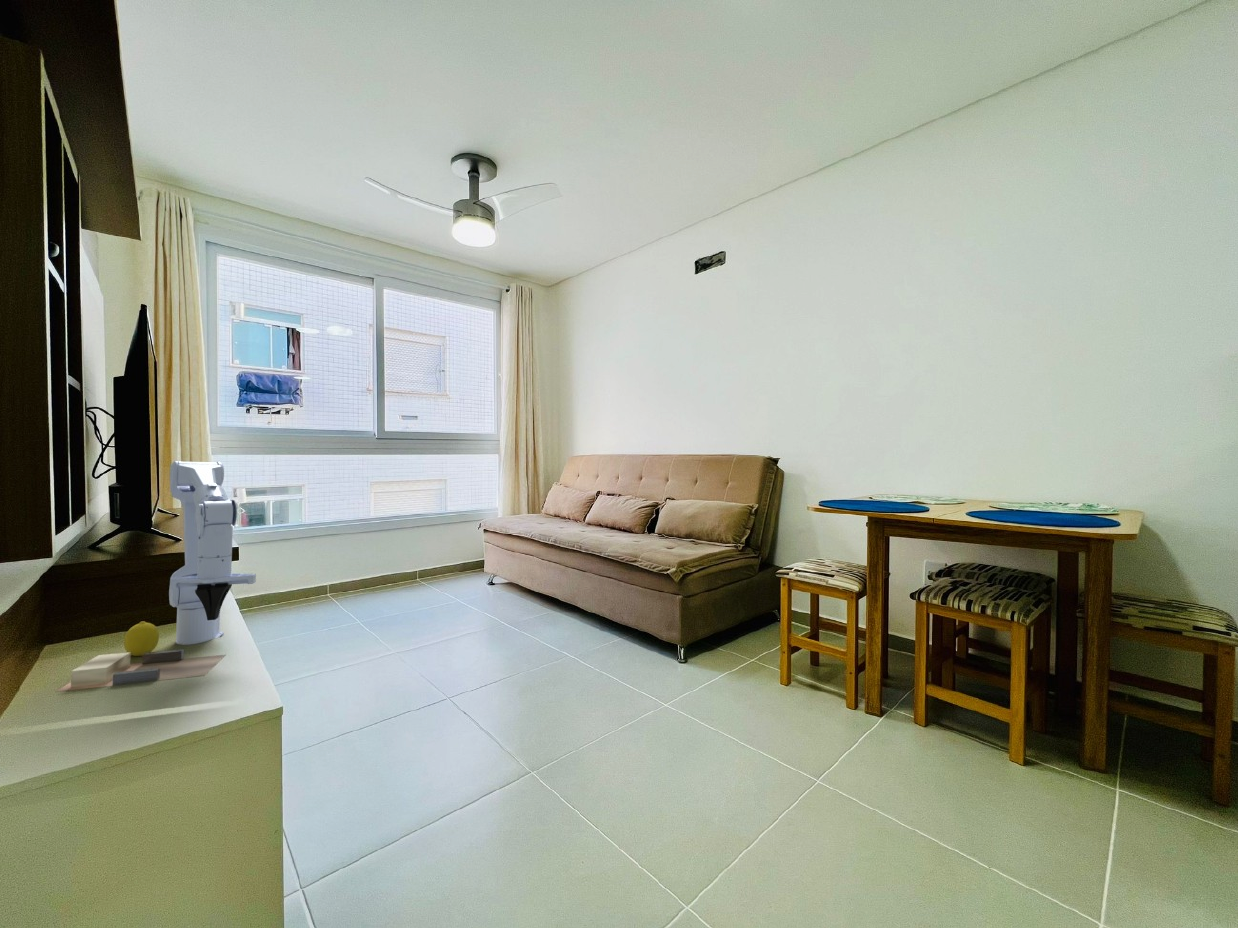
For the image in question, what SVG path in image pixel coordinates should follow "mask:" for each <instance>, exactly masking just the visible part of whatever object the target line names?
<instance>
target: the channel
mask: <svg viewBox="0 0 1238 928" xmlns="http://www.w3.org/2000/svg"><path fill="white" fill-rule="evenodd" d="M141 657H142V658H141V663H142V664H152V663H162V662H173V661H181V660H183V659H185V650H184V649H174V650H161V651H151V652H149V653H144V654H143V655H142V656H141ZM159 678H160V668H155V669H145V670H135V671H125V672H116V673H115V674H113V685H115V686H121V684H124V685H130V684H131V683H133V684H141V683H140V682H142V683H149V681H152V682H158V681H157V680H158V679H159ZM131 685H132V684H131Z"/></svg>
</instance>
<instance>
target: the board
mask: <svg viewBox="0 0 1238 928" xmlns="http://www.w3.org/2000/svg"><path fill="white" fill-rule="evenodd" d="M225 657H226V654H218V655H209V656H206V655H205V656H197V657H187V658H186V657H184V659H183V660H181V661H173V662H162V663H152V664H142V662H136V663H135V662H134V663H130V667H129V668H128V669H126V670H125V671H135V670H145V669H155V668H160V678H159V679H158V680H157V681H156V682H159V681H168V680H169V681H170V680H176V679H177V680H178V679H185V678H186V679H187V678H188V679H189V678H196V677H197V678H198V677H205V676H207V674H208V673H209V672H210V671H211V670H213V668H215V666H216V665H217V664H218V663H220V662H221V660H223V658H225ZM125 671H123V672H125ZM149 682H150V683H151V682H153V681H149ZM149 682H148V683H149ZM141 683H143V682H140V683H139V684H141ZM132 684H134V683H131V685H132ZM121 685H124V686H125V684H121ZM121 685H120V686H121ZM113 686H115V687H116V685H113V679H112V680H110V681H109V682H108V683H106V684H97V685H88V686H78V687H71V681H69V683H67V684H65V685H64V686H62V687H60V688H59V689H57V690H55V693H57V692H67V691H76V690H77V691H79V690H86V689H87V690H88V689H96V688H104V687H113Z"/></svg>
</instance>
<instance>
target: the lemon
mask: <svg viewBox="0 0 1238 928" xmlns="http://www.w3.org/2000/svg"><path fill="white" fill-rule="evenodd" d="M159 635H160V634H159V630H158V627H157V626H156V625H155V624H153V623H151V622H146V621H145V620H144V621H140V622H139V623H136V624H135V625H133V626H132V627H130V628H129V629H128V630H127V632H126V634H125V637H124V640H123V646H124V649H125V651H126V653H128V652H131V654H130V656H134V657H142V655H143V654H144V653H149V652H153V651H154V650H155V649H156V647H157V646H158V644H159V640H160V636H159Z"/></svg>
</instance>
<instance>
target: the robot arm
mask: <svg viewBox="0 0 1238 928" xmlns="http://www.w3.org/2000/svg"><path fill="white" fill-rule="evenodd" d="M224 477H225V468H224V464H223V463H222V462H221V461H216V462H214V461H208V462H207V461H178V460H173V462H171V464H170V468H169V486H170V487H169V489H170V490H169V492H170V494H171V497H172V498H173V499H177V500H179V502H180V505H181V507H182V515H183V518H182V519H183V538H184V541H183V543H184V544H183V545H184V546H183V547H184V565H183V566H182V567H180V568H179V569H177V570H176V571H174V572H173V573H172V574H171V576H170V578H169V579H170V580H169V590H168V596H169V597H168V598H169V599H168V600H169V605H170V606H171V607H173V608H176V628H175V629H176V633H175V634H176V635H175V644H176V645H182V646H183V645H196V644H200V643H201V644H202V643H204V642H205V643H206V642H208V641H211V640H214V639H216V638H217V639H218V638H221V636H223V635H224V634H225V632H224V631H220V626H221V623H220V620H221V608H222V607H223V603H224V601H225V598H226V597H227V594H228V593H229V591H230V589H231V588H232V586H233V585H244V584H245V585H253V584H256V581H257V579H256V577H257V575H256V573H232V559H233V533H234V532H233V531H234V530H233V529H234V528H233V526H235V525H236V524H237V523H236V522H237V521H238V519H237V518H238V507H237V503H236V500H235V499H229V498H228V496H227V494H226V492H225V489H224V488H223V487H222V485H223V483H224Z"/></svg>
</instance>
